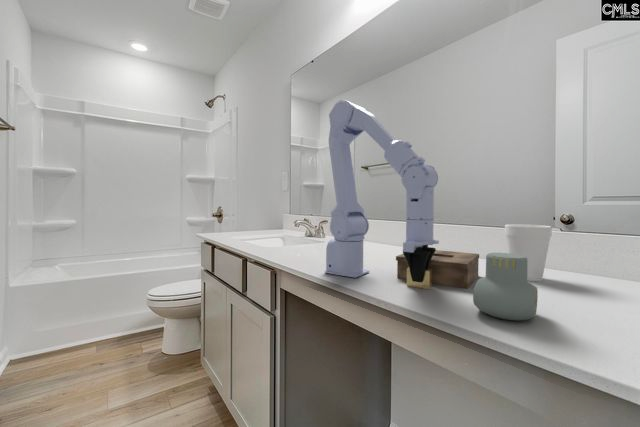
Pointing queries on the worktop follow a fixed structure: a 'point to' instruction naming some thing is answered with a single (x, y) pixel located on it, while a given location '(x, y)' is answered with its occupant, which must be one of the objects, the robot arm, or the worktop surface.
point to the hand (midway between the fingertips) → (418, 280)
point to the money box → (447, 268)
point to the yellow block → (425, 284)
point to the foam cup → (530, 246)
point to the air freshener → (506, 288)
